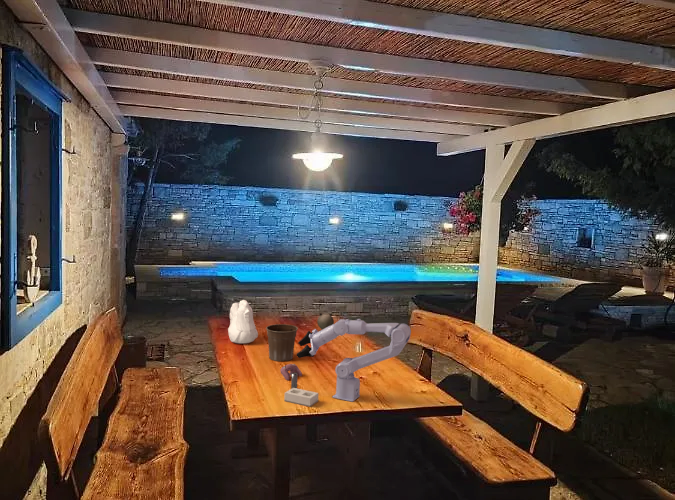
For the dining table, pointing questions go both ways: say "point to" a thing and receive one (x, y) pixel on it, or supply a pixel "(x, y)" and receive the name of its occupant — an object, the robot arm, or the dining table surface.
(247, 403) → the dining table surface
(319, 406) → the dining table surface
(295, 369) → the video game controller
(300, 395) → the bore block
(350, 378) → the robot arm
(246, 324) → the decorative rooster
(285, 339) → the plant pot
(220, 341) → the dining table surface
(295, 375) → the pin
